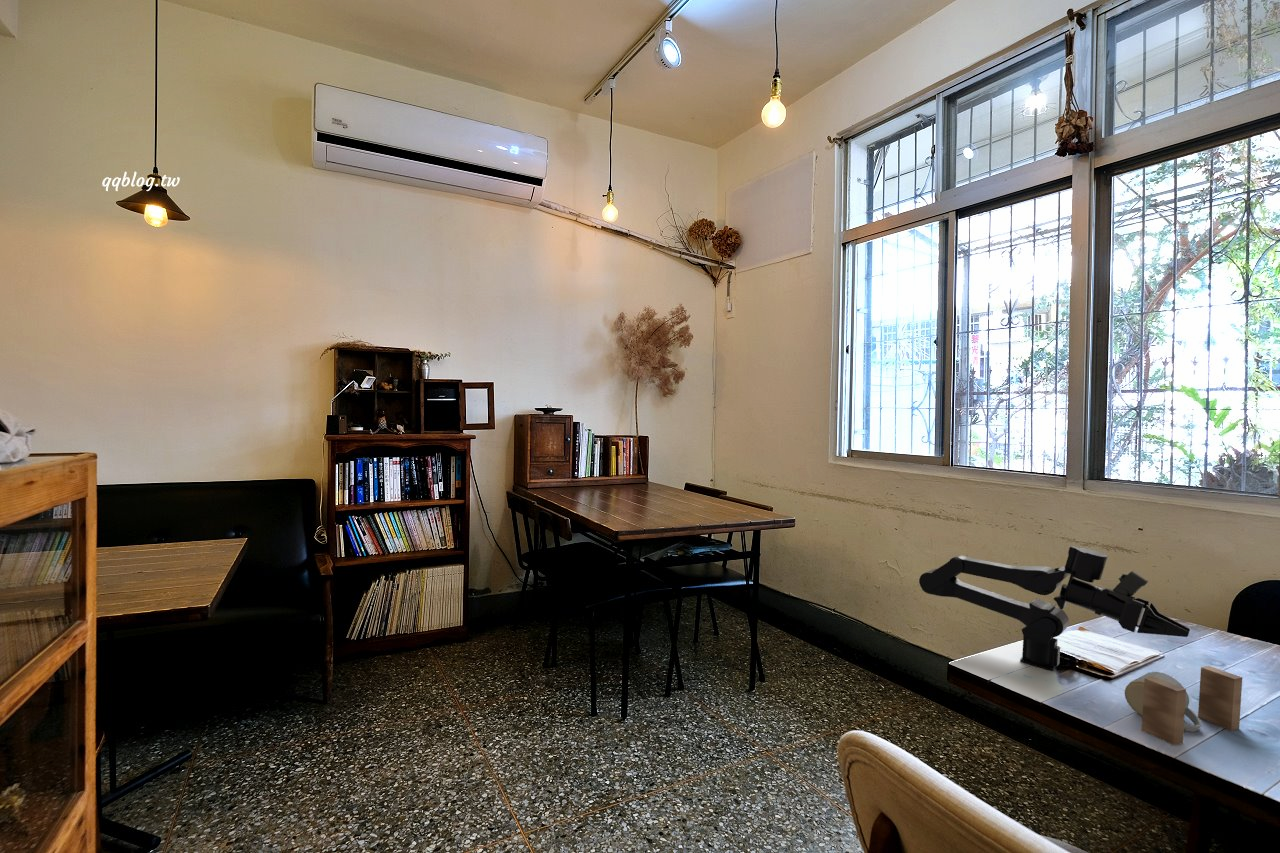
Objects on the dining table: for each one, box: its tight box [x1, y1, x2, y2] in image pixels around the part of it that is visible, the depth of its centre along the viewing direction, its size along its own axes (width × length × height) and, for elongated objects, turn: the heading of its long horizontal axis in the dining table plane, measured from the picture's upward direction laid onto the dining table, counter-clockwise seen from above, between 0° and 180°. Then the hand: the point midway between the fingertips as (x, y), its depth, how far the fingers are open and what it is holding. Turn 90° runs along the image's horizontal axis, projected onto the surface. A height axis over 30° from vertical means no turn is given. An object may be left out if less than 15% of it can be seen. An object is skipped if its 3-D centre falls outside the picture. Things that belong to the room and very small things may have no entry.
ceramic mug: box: [1124, 671, 1202, 733], centre depth 110 cm, size 11×8×8 cm
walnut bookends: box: [1141, 665, 1243, 746], centre depth 106 cm, size 5×20×10 cm, turn 109°
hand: (1188, 632), depth 115 cm, fingers open, 9 cm apart
